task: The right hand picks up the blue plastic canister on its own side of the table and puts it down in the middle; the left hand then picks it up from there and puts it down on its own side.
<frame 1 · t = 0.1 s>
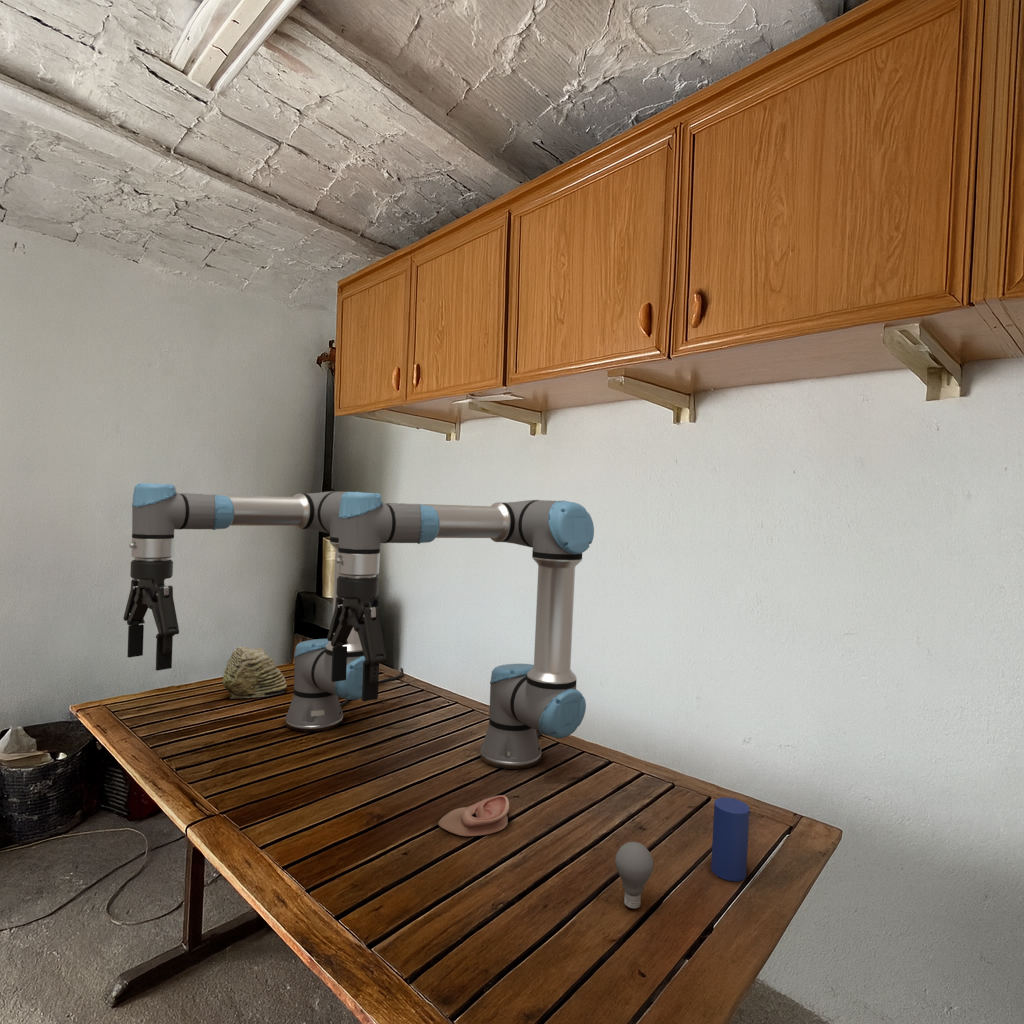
left hand: (148, 662, 129), 28 cm above the table, tool pointing down, fingers open, 13 cm apart
right hand: (353, 690, 117), 28 cm above the table, tool pointing down, fingers open, 13 cm apart
fossil: (254, 694, 198), on the table
canister: (728, 871, 113), on the table
light bulb: (632, 907, 102), on the table
anatomical model: (474, 823, 126), on the table
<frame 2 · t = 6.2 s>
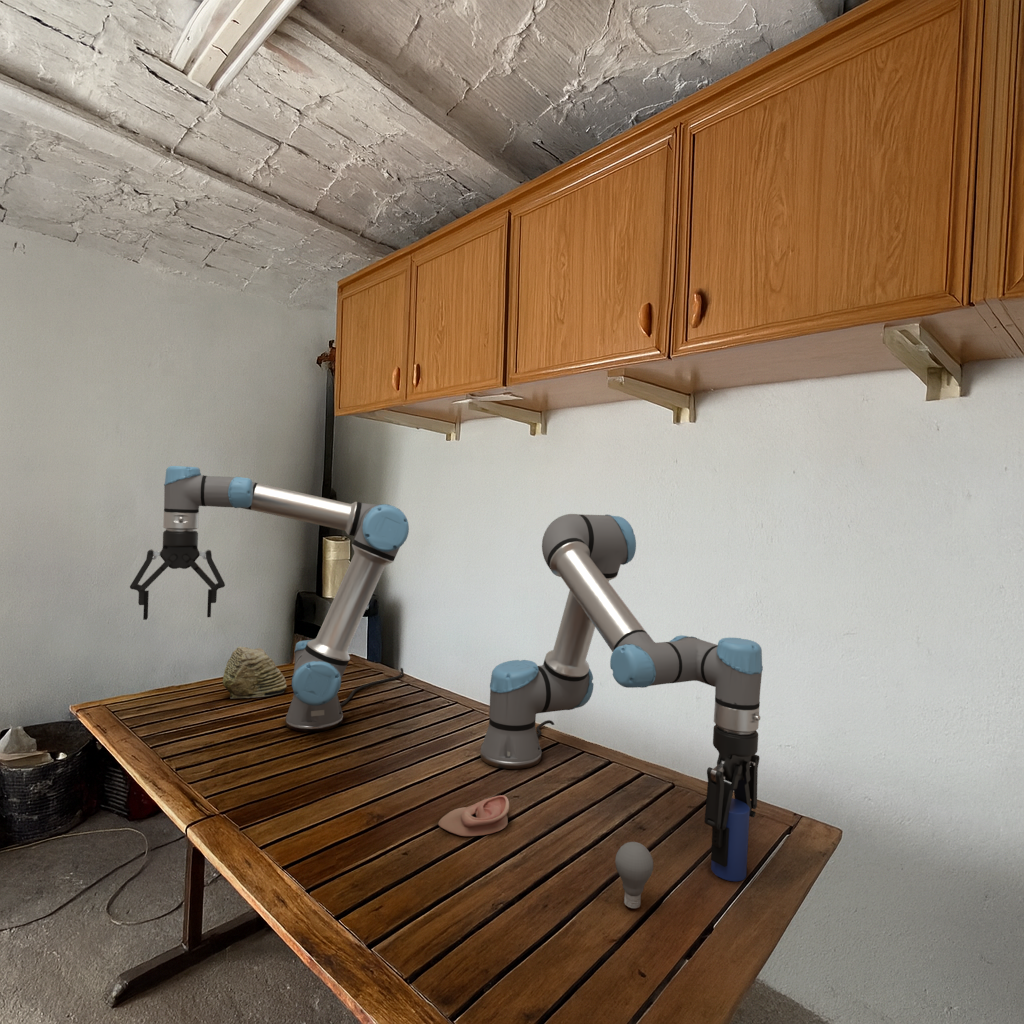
left hand: (177, 617, 154), 32 cm above the table, tool pointing down, fingers open, 13 cm apart
right hand: (729, 856, 113), 3 cm above the table, tool pointing down, fingers closed on canister, 6 cm apart
canister: (728, 871, 113), on the table, touching right hand
everything else where it was.
when the right hand's fingers open (4 cm above the table, at t = 15.5 s): canister drops 1 cm, on the table.
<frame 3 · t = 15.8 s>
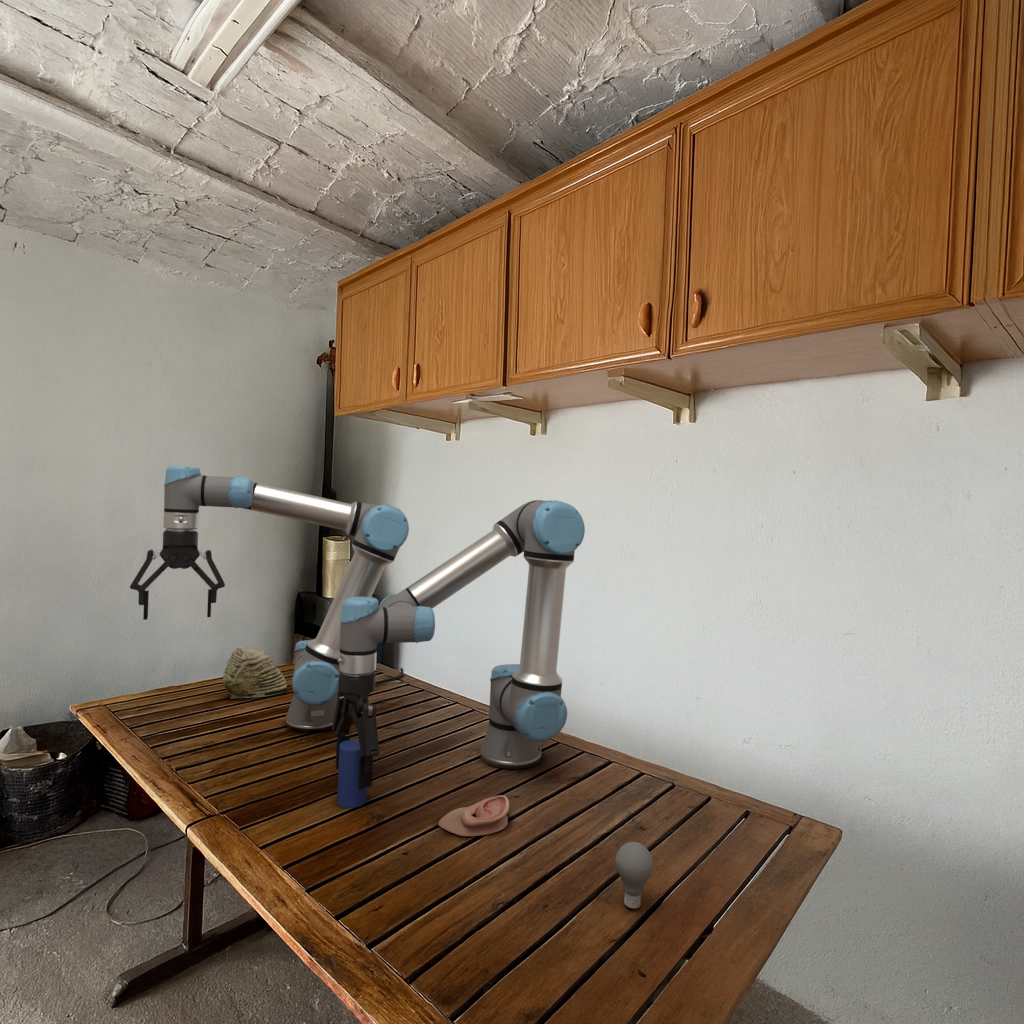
left hand: (177, 617, 154), 32 cm above the table, tool pointing down, fingers open, 13 cm apart
right hand: (353, 777, 132), 5 cm above the table, tool pointing down, fingers open, 10 cm apart
canister: (351, 801, 132), on the table
everything else where it was.
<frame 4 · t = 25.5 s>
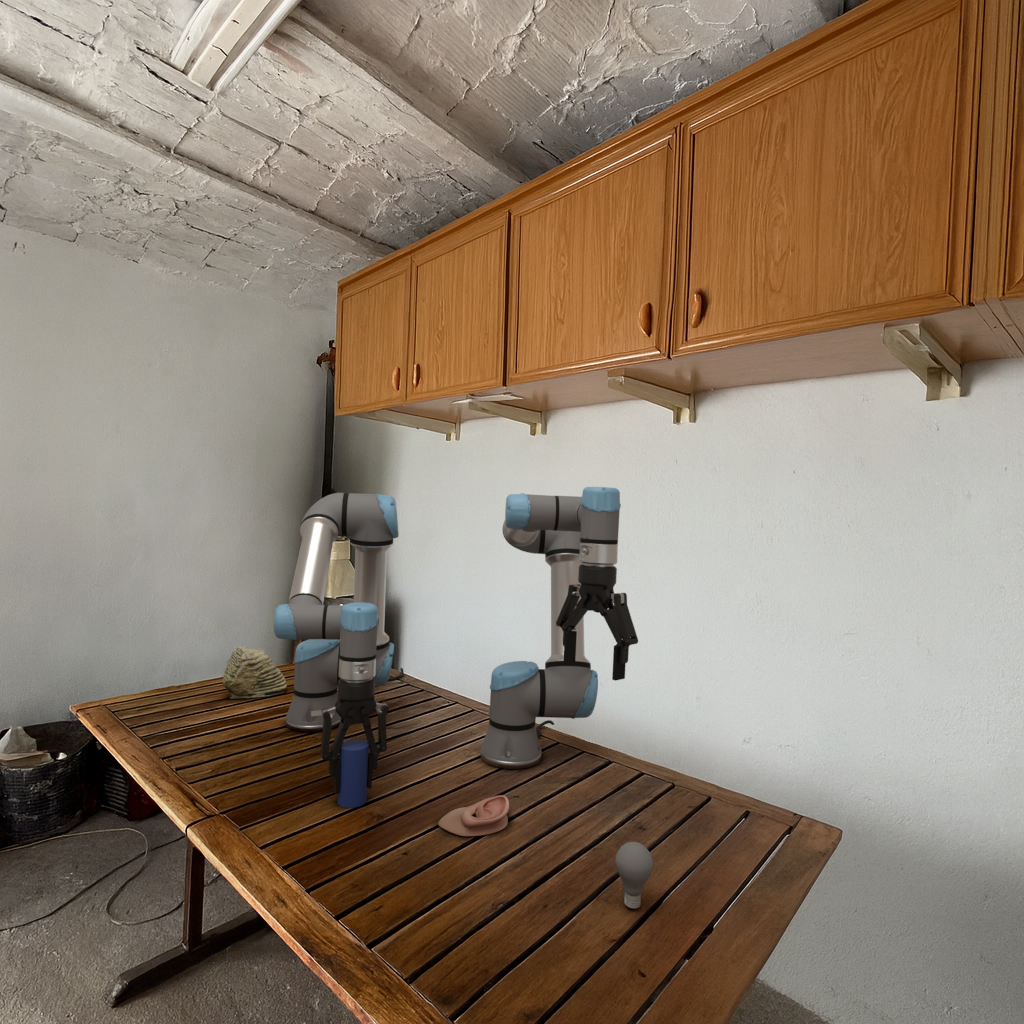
left hand: (352, 787, 132), 3 cm above the table, tool pointing down, fingers closed on canister, 6 cm apart
right hand: (592, 670, 126), 31 cm above the table, tool pointing down, fingers open, 13 cm apart
canister: (351, 801, 132), on the table, touching left hand
everything else where it was.
when the left hand's fingers open (4 cm above the table, at t = 31.9 s): canister drops 1 cm, on the table.
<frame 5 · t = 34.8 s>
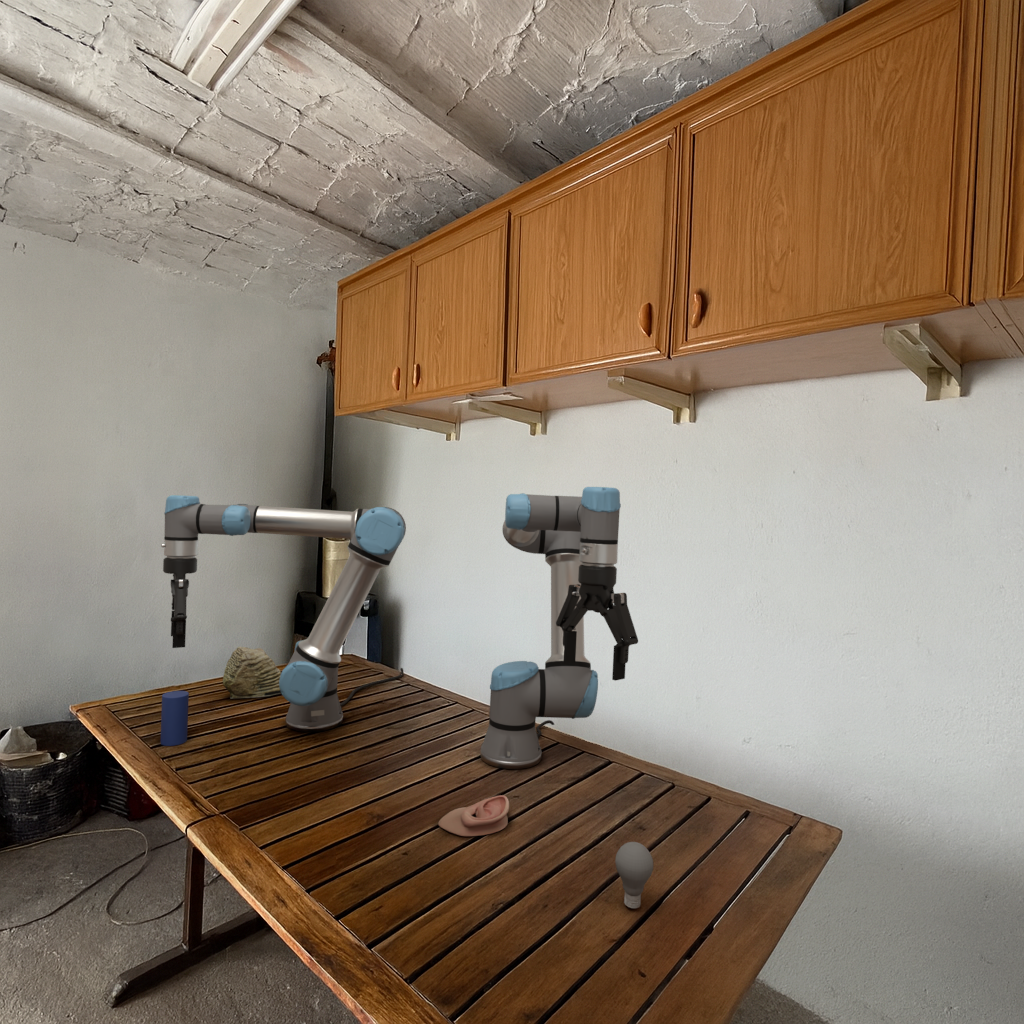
left hand: (177, 641, 159), 25 cm above the table, tool pointing down, fingers open, 13 cm apart
right hand: (592, 670, 126), 31 cm above the table, tool pointing down, fingers open, 13 cm apart
canister: (173, 741, 159), on the table
everything else where it was.
at the end: canister inside the target area (0.1 cm from its centre), on the table; canister tilted 0°; the two hands never held the canister at the same time; the left hand is holding nothing; the right hand is holding nothing; canister at rest at the end (0.0 cm/s) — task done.
